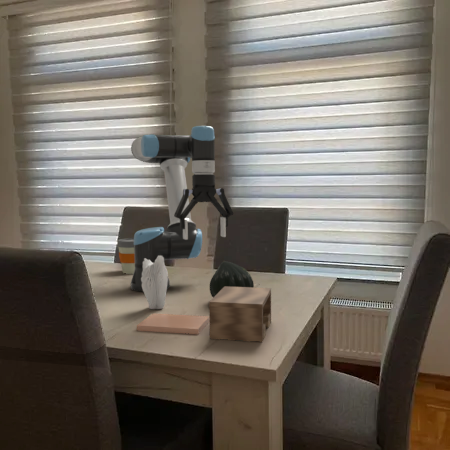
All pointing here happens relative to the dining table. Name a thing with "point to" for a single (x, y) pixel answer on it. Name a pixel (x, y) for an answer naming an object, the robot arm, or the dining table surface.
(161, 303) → the shell sculpture
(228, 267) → the squash
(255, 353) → the dining table surface
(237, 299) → the shelf
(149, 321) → the tile
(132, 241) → the reusable coffee cup
